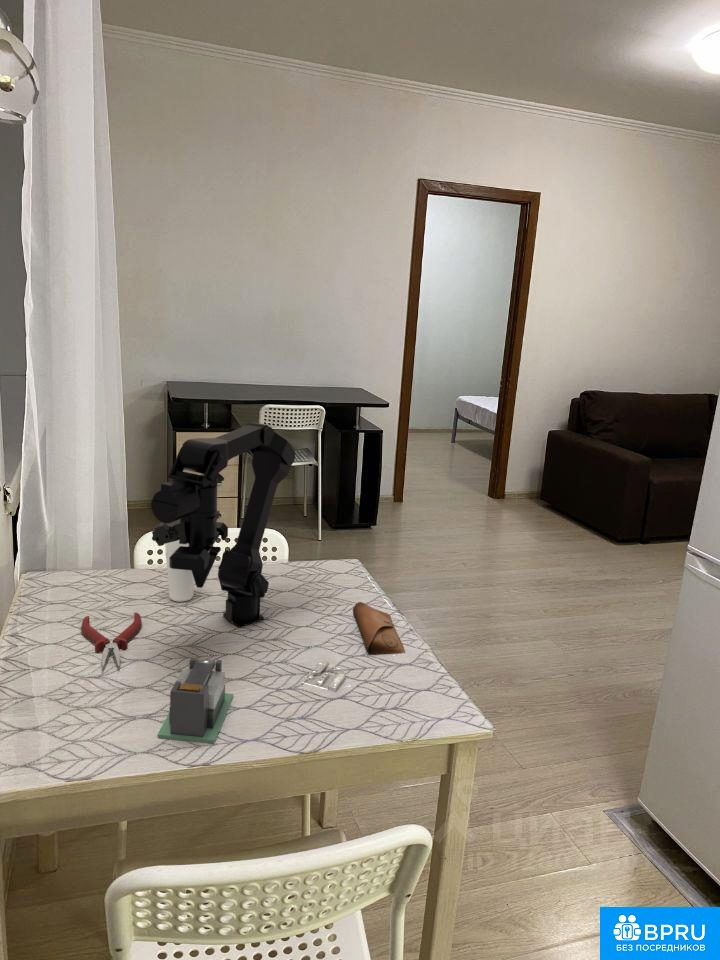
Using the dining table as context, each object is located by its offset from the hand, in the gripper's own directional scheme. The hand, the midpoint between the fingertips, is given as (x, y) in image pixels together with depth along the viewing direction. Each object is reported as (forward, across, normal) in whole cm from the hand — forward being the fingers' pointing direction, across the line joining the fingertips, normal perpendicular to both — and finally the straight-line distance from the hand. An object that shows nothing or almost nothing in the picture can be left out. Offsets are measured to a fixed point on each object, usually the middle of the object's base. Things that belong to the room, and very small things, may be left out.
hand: (199, 586), depth 135 cm
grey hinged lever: (+6, +17, +6) cm, 19 cm away
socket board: (+13, +22, +6) cm, 26 cm away
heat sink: (+12, +21, +6) cm, 25 cm away
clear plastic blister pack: (+14, +6, +25) cm, 29 cm away
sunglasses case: (+14, -13, +34) cm, 39 cm away
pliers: (+14, +1, -18) cm, 23 cm away
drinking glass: (+13, -21, -10) cm, 27 cm away
